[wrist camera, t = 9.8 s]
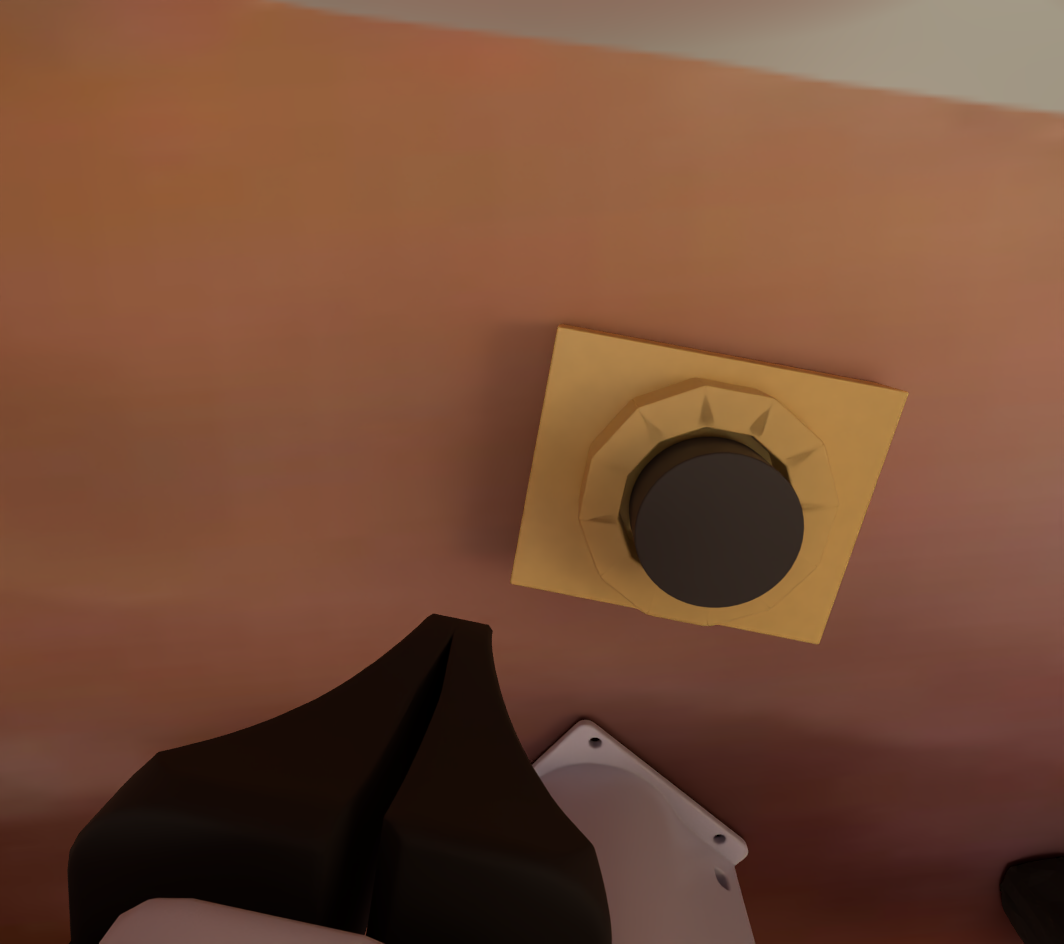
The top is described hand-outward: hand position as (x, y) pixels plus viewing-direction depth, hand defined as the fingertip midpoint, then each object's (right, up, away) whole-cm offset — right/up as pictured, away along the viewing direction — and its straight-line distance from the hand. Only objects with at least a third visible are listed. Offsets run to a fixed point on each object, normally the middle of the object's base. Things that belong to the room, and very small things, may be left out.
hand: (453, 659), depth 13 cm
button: (+7, +3, +6) cm, 9 cm away
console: (+7, +4, +9) cm, 12 cm away
